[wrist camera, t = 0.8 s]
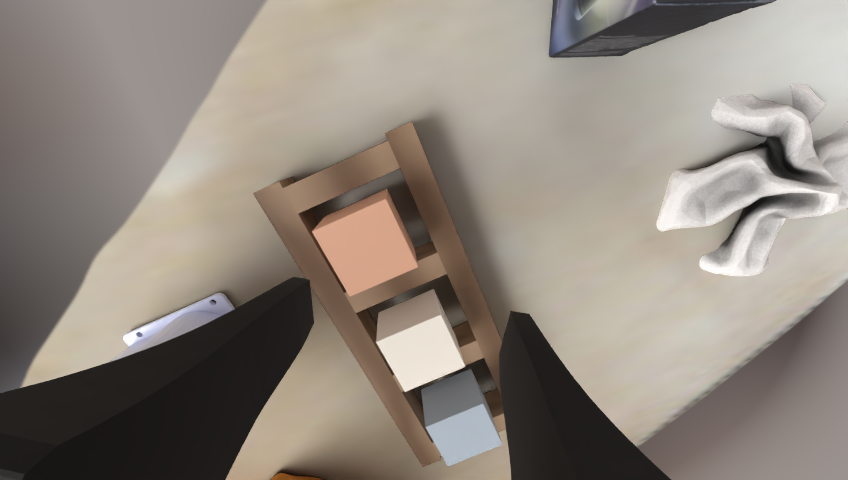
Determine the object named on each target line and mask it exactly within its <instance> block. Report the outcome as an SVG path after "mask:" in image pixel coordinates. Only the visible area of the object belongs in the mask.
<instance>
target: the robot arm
mask: <svg viewBox="0 0 848 480" xmlns="http://www.w3.org/2000/svg"><path fill="white" fill-rule="evenodd" d="M212 300H215V301H216V303H215V302H213V301H212ZM313 324H314V318H313V309H312V299H311V289H310V280H309V279H303V278H296V277H293V278H291V279H289V280H287V281H285V282H283V283H281V284H279V285H277V286H276V287H274V288H272V289H270V290H268V291H267V292H265V293H263V294H261V295H260V296H258V297H256V298H254V299H252V300H251V301H249V302H247V303H245V304H243V305H241V306H240V307H238V308H236V309H235V308H234V306H233V305H232V304H231V302H230V301H229V300H228V298H227V297H226V296H225V295H224V294H223V293H216V294H214V295H212V296H209V297H207V298H205V299H203V300H200V301H198V302H196V303H194V304H191V305H189V306H187V307H185V308H182V309H180V310H178V311H176V312H173V313H171V314H169V315H166V316H164V317H162V318H160V319H157V320H155V321H153V322H151V323H148V324H146V325H144V326H142V327H139V328H137V329H135V330H133V331H130V332H128V333H127V334H125V335H124V337H123V340H124V341H125V342H126V343H127V344H128V346H129V347H128V348H127V349H125V350H124V351H123V352H122V353H120V354H119V355H118V356H116V357H115V358H114V359H113V360H111V361H110V362H108V363H105V364H102V365H99V366H96V367H93V368H90V369H87V370H83V371H80V372H77V373H73V374H70V375H67V376H63V377H60V378H56V379H53V380H49V381H46V382H42V383H38V384H34V385H30V386H27V387H23V388H19V389H15V390H11V391H7V392H4V393H0V480H225V479H226V477H227V475H228V473H229V471H230V469H231V467H232V465H233V463H234V461H235V459H236V457H237V455H238V453H239V451H240V449H241V447H242V445H243V443H244V442H245V440H246V438H247V436H248V434H249V432H250V430H251V428H252V426H253V425H254V423H255V421H256V419H257V417H258V416H259V414H260V412H261V411H262V409H263V407H264V406H265V404H266V402H267V401H268V399H269V398H270V396H271V395H272V393H273V392H274V390H275V389H276V387H277V386H278V384H279V383H280V381H281V380H282V378H283V376H284V375H285V373H286V372H287V370H288V369H289V367H290V366H291V364H292V363H293V361H294V360H295V358H296V356H297V355H298V353H299V352H300V350H301V349H302V347H303V345H304V343H305V341H306V339H307V337H308V335H309V332H310V330H311V328H312V326H313ZM140 332H141V333H142V334H141V333H140ZM499 377H500V389H501V397H502V404H503V411H504V418H505V425H506V432H507V440H508V447H509V455H510V464H511V480H671V479H670V478H669V477H668V476H666V475H665V474H664V473H663V472H662V471H661V470H660V469H659V468H658V467H657V466H655V465H654V464H653V463H652V462H651V461H650V460H649V459H648V458H647V457H646V456H645V455H644V454H643V453H642V452H641V451H640V450H639V449H638V448H637V447H636V446H635V445H634V444H633V443H632V442H631V441H630V440H629V439H628V438H627V437H626V436H625V435H624V434H623V433H622V432H621V431H620V430H619V429H618V428H617V427H616V426H615V425H614V424H613V423H612V422H611V421H610V420H609V419H608V417H607V416H606V415H605V414H604V413H603V412H602V411H601V410H600V409H599V408H598V407H597V405H596V404H595V403H594V402H593V401H592V400H591V399H590V397H589V396H588V395H587V394H586V393H585V391H584V390H583V389H582V388H581V386H580V385H579V384H578V383H577V381H576V380H575V379H574V378H573V376H572V375H571V374H570V372H569V371H568V370H567V368H566V367H565V366H564V364H563V363H562V361H561V360H560V359H559V357H558V356H557V355H556V353H555V352H554V350H553V349H552V347H551V346H550V344H549V343H548V342H547V340H546V339H545V337H544V336H543V334H542V333H541V331H540V329H539V328H538V326H537V325H536V323H535V322H534V320H533V319H532V317H531V316H530V315H529V314H526V313H520V312H513V311H511V313H510V316H509V320H508V323H507V327H506V331H505V334H504V338H503V342H502V345H501V349H500V352H499Z"/></svg>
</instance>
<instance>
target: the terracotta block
mask: <svg viewBox="0 0 848 480" xmlns="http://www.w3.org/2000/svg"><path fill="white" fill-rule="evenodd" d="M312 233H313V234H314V236H315V238H316V240H317V241H318V243H319V245H320V246H321V248H322V250H323V252H324V253H325V255H326V257H327V259H328V260H329V262H330V264H331V265H332V267H333V269H334V271H335V272H336V274H337V276H338V277H339V279H340V281H341V283H342V284H343V286H344V288H345V290H346V291H347V293H348V295H349V296H353V295H355V294H357V293H360V292H362V291H364V290H367V289H369V288H371V287H373V286H376V285H378V284H380V283H383V282H385V281H387V280H390V279H392V278H394V277H397V276H399V275H401V274H403V273H406V272H408V271H410V270H413V269H415V268H417V267H418V264H417V259H416V254H415V249H414V246H413V243H412V241H411V239H410V237H409V235H408V233H407V231H406V229H405V226H404V224H403V222H402V220H401V218H400V216H399V214H398V211H397V209H396V207H395V205H394V203H393V201H392V199H391V196H390V194H389V192H388V190H387V189H385V190H383V191H380V192H378V193H376V194H374V195H371V196H369V197H367V198H365V199H362V200H360V201H358V202H356V203H354V204H351V205H349V206H347V207H345V208H342V209H340V210H338V211H336V212H333V213H331V214H329V215H327V216H325V217H324V218H323V219H322V220H321V222H320V223H319V224H318V225H317V226H316V227H315V229H314V230H313V231H312Z"/></svg>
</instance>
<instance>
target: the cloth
mask: <svg viewBox="0 0 848 480" xmlns="http://www.w3.org/2000/svg"><path fill="white" fill-rule="evenodd" d="M791 89H792V98H793V107H794V108H793V107H791V106H789V105H781V104H777V103H775V102H773V101H767V100H760V99H759V98H757V97H756V96H754V95H741V96H731V97H723V98H718V100H717V102H716V104H715V106H714V108H713V110H712V111H711V116H712V118H713V120H714V121H715V122H716V123H718V124H719V125H721V126H723V127H725V128H732V129H741V130H744V131H747V132H749V133H752V134H754V135H757V136H762V137H767V139H766V141H765V142H764V143H763V144H760V145H758V146H756V147H755V148H753V149H751V150H749V151H744V152H740V153H737V154H735V155H732V156H729V157H727V158H725V159H723V160H721V161H719V162H717V163H715V164H713V165H711V166H709V167H705V168H700V169H696V170H692V171H691V170H687V169H678V170H676V171H675V172H674V173H673V174H672V175H671V178H670V181H669V184H668V187H667V190H666V193H665V196H664V200H663V203H662V205H661V209H660V212H659V216H658V219H657V229H659V230H661V231H662V232H663V231H666V230H672V229H678V228H693V227H703V226H710V225H713V224H716V223H718V222H720V221H722V220H724V219H725V218H726V217H728V216H729V215H731V214H732V213H733V212H735V211H737V210H739V209H742V208H743V211H742V214H741V217H740V220H739V222H738V224H737V226H736V227H735V228H734V230H733V232H732V233H731V234H730V236H729V237H728V238H727V239H726V240H725V241H724V242H723V243H722V244H721V245H720V247H719V248H718V249H717V250H715V251H714V252H711V253H709V254H706V255H703V257H702V258H701V259H700V267H701V268H702V269H704V270H706V271H709V272H711V273H714V274H723V275H730V276H752V275H756V274H759V273H761V272H762V271H763V270H764V269H765V268H767V267H768V265H769V262H770V260H769V259H768V258H767V257H768V254H769V251H770V249H771V246H772V244H773V242H774V239H775V237H776V235H777V233H778V232H779V230H780V229H781V227H782V225H783V223H784V222H785V220H786V218H787V219H795V218H803V217H812V216H821V215H824V214H830V213H834V212H837V211H839V210H841V209H847V208H848V122H847V123H846V124H845V125H844V126H843V127H842V128H841V129H840V130H839V131H837V132H835V133H834V134H832V135H830V136H828V137H826V138H823V139H821V140H818V141H815V142H813V140H812V132H811V128H810V125H809V123H811V122H812V121H813V120H814V119H815V118H816V116H817V115H818V114H819V113H820V111H821V110H822V109H823V108H824V106H825V105H826V104H825V103H824V102H823V101H822V100H821V99H820V98H819V97H818V96H817V95H816V94H815V93H814V92H813V91H812V89H811V88H810V87H809V86H808V85H805V84H792V85H791Z"/></svg>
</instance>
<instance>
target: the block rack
mask: <svg viewBox="0 0 848 480" xmlns="http://www.w3.org/2000/svg"><path fill="white" fill-rule="evenodd" d="M385 135H386V137H387V140H388V141H386V142H384V143H381V144H379V145H377V146H375V147H373V148H370V149H368V150H366V151H364V152H362V153H359V154H357V155H355V156H353V157H350V158H348V159H346V160H344V161H342V162H339V163H337V164H335V165H333V166H331V167H328V168H326V169H324V170H322V171H320V172H317V173H315V174H313V175H311V176H308V177H306V178H304V179H302V180H300V181H297V182H295V181H294V179H293V177H289V178H287V179H284V180H282V181H279V182H277V183H275V184H272V185H270V186H268V187H266V188H264V189H261V190H259V191H257V192H255V193H253V194H254V196H255V198H256V199H257V201H258V202H259V204H260V206H261V207H262V209H263V210H264V212H265V214H266V215H267V217H268V218H269V220H270V222H271V223H272V225H273V227H274V228H275V230H276V231H277V233H278V235H279V236H280V238H281V239H282V241H283V243H284V244H285V246H286V247H287V249H288V251H289V252H290V254H291V255H292V257H293V259H294V260H295V262H296V264H297V265H298V267H299V268H300V270H301V272H302V273H303V275H304V276H305V278H306V279H309V280H310V286H311V288H312V289H313V291H314V292H315V294H316V296H317V297H318V299H319V301H320V302H321V304H322V305H323V307H324V309H325V310H326V312H327V313H328V315H329V317H330V318H331V320H332V321H333V323H334V325H335V326H336V328H337V329H338V331H339V333H340V334H341V336H342V338H343V339H344V341H345V342H346V344H347V346H348V347H349V349H350V350H351V352H352V354H353V355H354V357H355V358H356V360H357V362H358V363H359V365H360V366H361V368H362V370H363V371H364V373H365V375H366V376H367V378H368V379H369V381H370V383H371V384H372V386H373V387H374V389H375V391H376V392H377V394H378V395H379V397H380V399H381V400H382V402H383V403H384V405H385V407H386V408H387V410H388V412H389V413H390V415H391V416H392V418H393V420H394V421H395V423H396V424H397V426H398V428H399V429H400V431H401V432H402V434H403V436H404V437H405V439H406V440H407V442H408V444H409V445H410V447H411V449H412V450H413V452H414V453H415V455H416V457H417V458H418V460H419V461H420V463H421V465H422V466H423V467H424V466H426V465H429V464H431V463H434V462H436V461H438V460H441V453H440V452H439V450H438V448H437V446H436V445H435V443H434V441H433V440H432V438H431V436H430V434H429V433H428V431H427V429H426V427H425V419H424V411H423V407H422V405H421V403H420V401H419V400H418V398H417V396H416V394H415V392H414V391H413V389H411V390H409V391H406V392H405V391H404V390H403V388H402V386H401V384H400V383H399V381H398V379H397V377H396V376H395V374H394V372H393V371H392V369H391V367H390V365H389V364H388V362H387V360H386V359H385V357H384V355H383V353H382V352H381V350H380V348H379V346H378V345H377V343H376V336H377V325H376V324H375V322H374V320H373V318H372V317H371V315H370V313H369V311H368V310H367V308H369V307H371V306H374V305H376V304H378V303H381V302H383V301H385V300H388V299H390V298H392V297H394V296H397V295H399V294H401V293H404V292H406V291H408V290H411V289H413V288H415V287H418V286H420V285H422V284H425V283H427V282H429V281H432V280H434V279H436V278H439V277H441V276H443V275H446V274H447V275H448V277H449V280H450V282H451V284H452V286H453V289H454V291H455V293H456V296H457V298H458V300H459V302H460V305H461V307H462V309H463V311H464V314H465V316H466V318H467V320H468V322H466V323H464V324H461V325H459V326H457V327H454V328H452V329H453V331H454V333H455V335H456V339H457V342H458V345H459V348H460V351H461V354H462V357H463V361H464V364H465V365H468V364H470V363H473V362H475V361H477V360H480V359H482V358H484V359H485V361H486V363H487V366H488V368H489V370H490V372H491V375H492V377H493V379H494V381H495V384H496V386H497V389H495V390H492V391H490V392H487V393H485V394H483V395H484V397H485V399H486V402H487V404H488V406H489V409H490V411H491V414H492V417H493V420H494V422H495V425H496V428H497V431H498V432H500V431H502V430H505V429H506V425H505V418H504V411H503V404H502V397H501V389H500V377H499V352H500V349H501V345H502V341H501V338H500V336H499V333H498V331H497V329H496V326H495V324H494V321H493V319H492V316H491V314H490V311H489V309H488V307H487V304H486V302H485V299H484V297H483V294H482V292H481V289H480V287H479V285H478V282H477V280H476V277H475V275H474V272H473V270H472V267H471V265H470V263H469V260H468V258H467V255H466V253H465V250H464V248H463V245H462V243H461V241H460V238H459V236H458V233H457V231H456V228H455V226H454V223H453V221H452V219H451V216H450V214H449V211H448V209H447V206H446V204H445V201H444V199H443V197H442V194H441V192H440V189H439V187H438V184H437V182H436V179H435V177H434V175H433V172H432V170H431V167H430V165H429V162H428V160H427V157H426V155H425V153H424V150H423V148H422V145H421V143H420V140H419V138H418V135H417V133H416V131H415V128H414V126H413V123H412V121H411V122H409V123H407V124H405V125H403V126H400V127H398V128H396V129H394V130H392V131H389V132H387V133H385ZM399 168H400V169H401V171H402V174H403V176H404V178H405V180H406V183H407V185H408V187H409V189H410V192H411V194H412V196H413V198H414V201H415V203H416V205H417V207H418V210H419V212H420V214H421V217H422V219H423V221H424V223H425V226H426V228H427V230H428V232H429V235H430V237H431V239H432V241H431V242H428V243H426V244H424V245H421V246H419V247H417V248H414V249H415V254H416V259H417V264H418V267H417V268H415V269H413V270H410V271H408V272H406V273H403V274H401V275H399V276H397V277H394V278H392V279H390V280H387V281H385V282H383V283H380V284H378V285H376V286H373V287H371V288H369V289H367V290H364V291H362V292H360V293H357V294H355V295H353V296H349V295H348V293H347V291H346V290H345V288H344V286H343V284H342V283H341V281H340V279H339V277H338V276H337V274H336V272H335V271H334V269H333V267H332V265H331V264H330V262H329V260H328V259H327V257H326V255H325V253H324V252H323V250H322V248H321V246H320V245H319V243H318V241H317V240H316V238H315V236H314V234H313V233H312V231H313V230H314V229H315V227H316V226H317V225H318V224H319V223H318V221H317V220H316V218H315V216H314V214H313V212H312V211H311V209H310V208H312V207H314V206H316V205H319V204H321V203H323V202H325V201H328V200H330V199H332V198H334V197H337V196H339V195H341V194H343V193H346V192H348V191H350V190H352V189H354V188H357V187H359V186H361V185H363V184H366V183H368V182H370V181H372V180H375V179H377V178H379V177H381V176H383V175H386V174H388V173H390V172H392V171H395V170H397V169H399Z"/></svg>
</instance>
